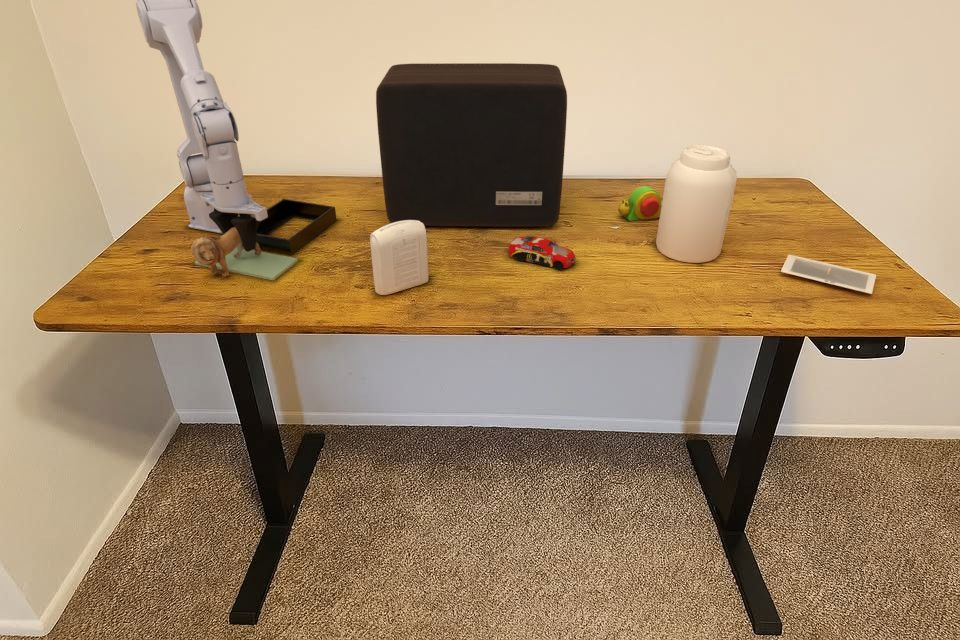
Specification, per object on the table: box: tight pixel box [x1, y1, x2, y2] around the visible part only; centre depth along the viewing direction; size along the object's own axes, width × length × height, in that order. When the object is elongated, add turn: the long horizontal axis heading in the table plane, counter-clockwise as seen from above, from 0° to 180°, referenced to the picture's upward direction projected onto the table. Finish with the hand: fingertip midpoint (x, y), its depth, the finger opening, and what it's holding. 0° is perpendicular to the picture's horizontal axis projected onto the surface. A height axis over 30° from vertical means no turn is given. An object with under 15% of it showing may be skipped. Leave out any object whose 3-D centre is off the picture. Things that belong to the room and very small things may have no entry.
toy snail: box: [618, 185, 662, 222], centre depth 141 cm, size 6×19×7 cm, turn 108°
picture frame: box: [242, 198, 338, 256], centre depth 135 cm, size 13×17×3 cm
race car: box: [507, 235, 576, 271], centre depth 124 cm, size 13×5×4 cm, turn 63°
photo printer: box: [369, 220, 429, 296], centre depth 114 cm, size 10×4×12 cm, turn 123°
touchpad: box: [780, 254, 877, 295], centre depth 118 cm, size 8×15×2 cm, turn 58°
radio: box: [375, 62, 568, 228], centre depth 135 cm, size 36×18×30 cm, turn 88°
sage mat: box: [193, 246, 299, 282], centre depth 125 cm, size 18×8×1 cm, turn 70°
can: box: [655, 144, 738, 264], centre depth 123 cm, size 12×12×20 cm
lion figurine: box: [190, 227, 262, 277], centre depth 120 cm, size 15×5×9 cm, turn 157°
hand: (242, 247), depth 123 cm, fingers closed on lion figurine, 3 cm apart
